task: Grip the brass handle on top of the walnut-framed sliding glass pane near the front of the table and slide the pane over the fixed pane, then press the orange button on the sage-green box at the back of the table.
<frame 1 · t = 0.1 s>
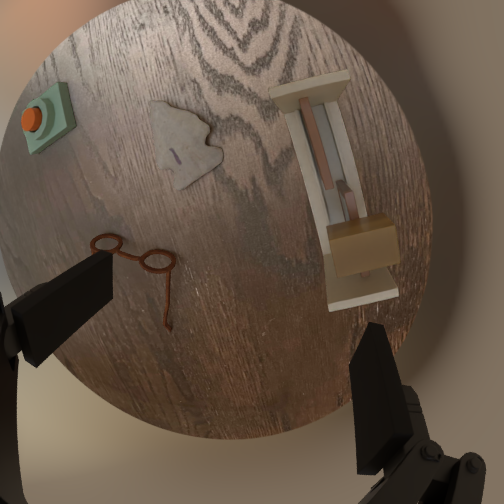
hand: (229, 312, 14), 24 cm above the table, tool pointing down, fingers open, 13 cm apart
glasses: (138, 281, 44), on the table
button: (31, 119, 34), point 4 cm above the table, slide at 0.1 cm
button box: (51, 118, 38), on the table
window frame: (330, 177, 34), on the table
pane: (354, 228, 27), point 9 cm above the table, slide at 0.0 cm
decorative stone: (180, 136, 36), on the table
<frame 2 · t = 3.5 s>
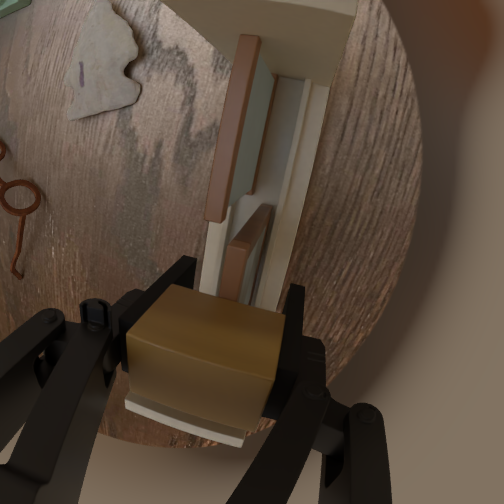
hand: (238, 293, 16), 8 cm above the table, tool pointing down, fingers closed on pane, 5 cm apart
glasses: (7, 207, 28), on the table
window frame: (263, 192, 22), on the table
pane: (234, 302, 15), point 9 cm above the table, slide at 0.0 cm, touching gripper
decorative stone: (107, 52, 20), on the table
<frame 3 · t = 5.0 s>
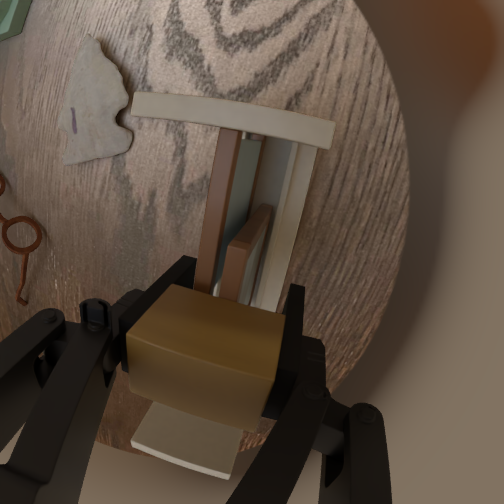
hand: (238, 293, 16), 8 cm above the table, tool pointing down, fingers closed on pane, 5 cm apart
glasses: (9, 237, 30), on the table
button box: (9, 13, 19), on the table
window frame: (252, 243, 24), on the table
pane: (234, 302, 15), point 9 cm above the table, slide at 4.1 cm, touching gripper
decorative stone: (99, 94, 22), on the table
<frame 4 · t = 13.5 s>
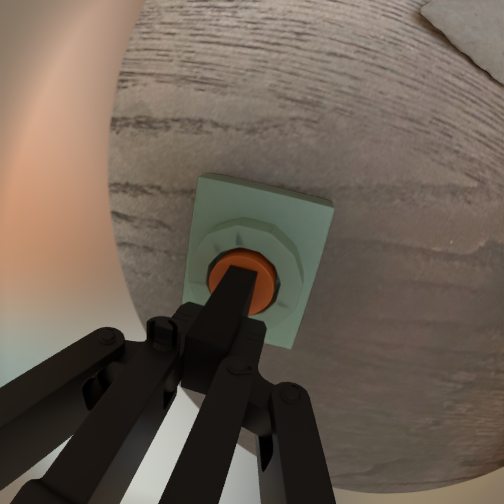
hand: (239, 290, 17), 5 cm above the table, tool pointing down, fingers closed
button: (243, 280, 18), point 4 cm above the table, slide at -0.8 cm, touching gripper
button box: (254, 258, 21), on the table
decorative stone: (482, 35, 12), on the table
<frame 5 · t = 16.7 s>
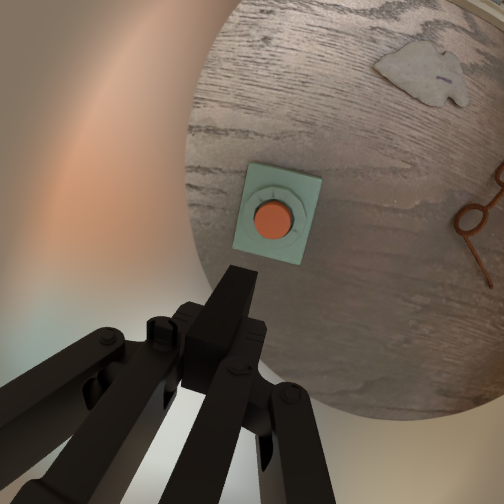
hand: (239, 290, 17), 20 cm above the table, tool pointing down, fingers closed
glasses: (500, 225, 30), on the table
button: (273, 220, 31), point 4 cm above the table, slide at 0.1 cm
button box: (277, 210, 35), on the table
window frame: (490, 8, 20), on the table
decorative stone: (418, 73, 27), on the table
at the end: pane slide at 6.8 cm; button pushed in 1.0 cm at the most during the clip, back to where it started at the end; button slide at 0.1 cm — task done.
